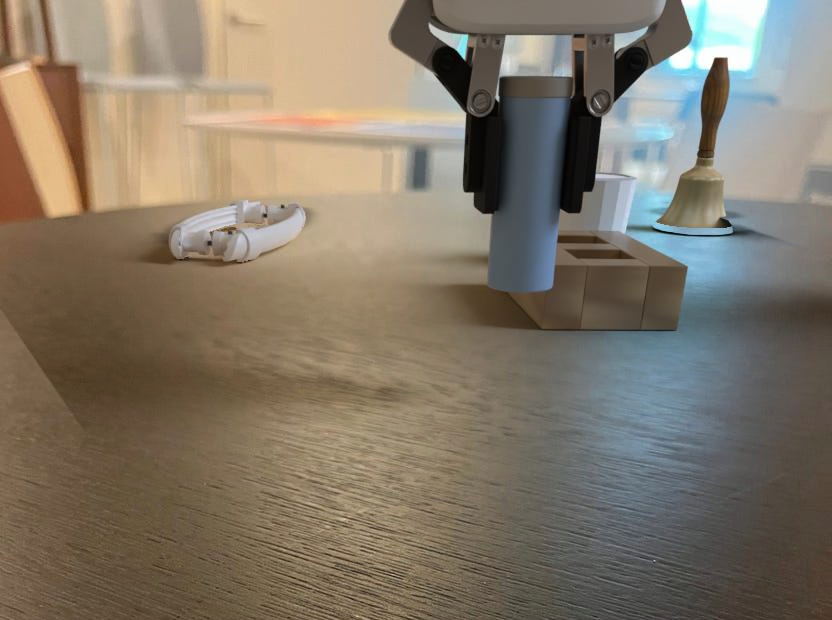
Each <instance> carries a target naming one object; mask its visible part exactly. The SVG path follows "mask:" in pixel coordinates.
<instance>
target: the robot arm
mask: <svg viewBox="0 0 832 620" xmlns="http://www.w3.org/2000/svg"><path fill="white" fill-rule="evenodd" d="M686 10H687V9H686V7H685V4H684V1H683V0H403V1H402V4H401V5H400V8H399V10H398V12H397V14H396V15H395V18H394V20H393V22H392V23H391V25H390V28H389V30H388V33H387V39H388V42H389V44H390V46H391V47H392V48H393V49H395V50H397V51H398V52H400V53H401V54H403V55H404V56H405V57H407V58H409V59H410V60H412V61H413V62H415V63H416V64H418V65H419V66H421V67H422V68H424V69H426V70H427V71H429V72H430V73H432V74H433V75H434V77H435V78H436V79H437V80H438V81H439V83H440V84H441V85H442V86H443V88H444V89H445V90H446V92H448V94H449V95H450V96H451V97H452V99H454V101H455V102H456V103H457V104H458V106H459V107H460V109H461V111H462V112H464V113H465V126H464V127H465V129H464V147H463V148H464V149H463V163H462V164H463V166H462V191H463V192H464V193H466V194H473V207H474V208H475V209H476V210H477V211H478V212H479V213H481V214H482V215H491V214H494V212H495V211H498V210H499V203H500V189H501V174H502V160H503V145H504V130H505V121H504V120H502V119H501V117H498V111H499V100H497V98H496V97H497V92H498V91H497V90H498V86H499V78H500V72H501V67H502V61H503V54H504V50H505V49H504V48H505V43H506V37H507V36H571V77H573V78H574V83H573V94H572V97H571V103H570V113H569V123H568V134H567V144H566V154H565V165H564V175H563V186H562V196H561V206H560V209H561V210H563V211H565V212H567V213H568V214H570V213H580V212H581V209H582V202H583V192H592V190H593V188H594V184H595V177H596V172H597V169H598V158H599V150H600V149H599V148H600V141H601V140H600V138H601V132H602V131H601V130H602V121H603V117H604V116H606V115H607V114H608V113H610V111H611V110H612V108H613V106H614V104H615V103H616V102H617V101H618V100H619V99H620V98H621V97H622V96H623V95H624V94H625V92H626V91H628V90H629V89H630V87H631V86H632V85H634V83H635V82H637V80H639V78H641V76H643V75H644V73H645V72H647V71H649V70H650V69H651V68H653V67H656V66H658V65H659V64H661V63H662V62H664V61H666V60H668V59H669V58H671V57H672V56H674V55H676V54H677V53H679V52H681V51H683V50H684V49H686V48H687V47H688V46H689V45H690V43H691V42H692V39H693V35H694V33H693V28H692V26H691V22H690V20H689V16H688V13H687V11H686ZM430 25H431V26H432V27H434V28H436V29H437V30H440V31H442V32H445V33H448V34H453V35H454V34H455V35H462V36H463V35H465V36H466V35H467V40H466V46H465V47H466V48H465V53H464V57H463V56H462V55H461V54H460V52H458V50H457V49H455V47H452V46H451V45H449V44H448V43H446V42H444V41H443V40H442V39H440V38H439V37H437V36H436V35H435V34H434V33H433V32H432V31H431V29H430ZM645 28H647V29H646V31H645V32H644V33H643V34H642V35H641V36H639V37H638V38H636V40H634V41H632V42H631V43H629V44H627V45H625V46H623V47H620V48H619V49H617V50H616V51H615V43H616V41H615V38H616V37H615V35H617V34H629V33H635V32H637V31H641V30H643V29H645Z"/></svg>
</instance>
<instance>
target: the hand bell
mask: <svg viewBox="0 0 832 620" xmlns="http://www.w3.org/2000/svg"><path fill="white" fill-rule="evenodd" d="M730 80H731V79H730V71H729V58H728V57H727V56H725V57H724V56H723V57H721V56H720V57H714V58H713V61H712V64H711V66H710V68H709V71H708V73H707V75H706V77H705V80H704V83H703V87H702V92H701V98H700V118H701V132H700V137H699V144H698V150H697V153H696V157H697V158H696V162H695V164H694V166H693V167H691V168H690V169H688V170H687V171H685V172H682V174H680V176H679V178H678V182H677V186H676V189H675V192H674V194H673V197H672V199H671V202H670V204H669V206H668V207H667V209H666V210H665V211H664V213H663V214H662V215H661V216H660V217H659V218H658V219H656V220H655V222H657V223H660V224H664V225H669V226H676V227H687V228H727V227H731V226H733V224H732V223H731V222H730V220H729V219H726V218H724V217H726V216H727V214H726V213H727V212H726V209H725V203H724V202H725V201H724V189H725V188H724V186H725V177H724V175H723V174H721V173H720V172H718V171H717V170H716V169H715V168H714V161H715V159H714V157H715V154H716V153H715V149H716V143H717V135H718V131H719V126H720V125H721V124H720V123H721V122H722V119H723V116H724V114H725V111H726V109H727V104H728V102H729V96H730V89H731V81H730Z"/></svg>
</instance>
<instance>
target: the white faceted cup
mask: <svg viewBox="0 0 832 620" xmlns="http://www.w3.org/2000/svg"><path fill="white" fill-rule="evenodd" d="M637 182H638V177H636V176H633V175H628V174H623V173H616V172H615V173H614V172H605V171H604V172H601V171H596V177H595V184H594V188H593V190H592V192H583V202H582V209H581V212H580V213H570V214H568V213H567V212H565V211H563V210H561V209H560V217H559V227H558V230H576V231H620V232H622V233H623V234H625V235H626V230H627V227H628V223H629V218H630V214H631V209H632V205H633V202H634V201H633V200H634V197H635V190H636V189H637Z"/></svg>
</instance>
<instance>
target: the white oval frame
mask: <svg viewBox="0 0 832 620" xmlns="http://www.w3.org/2000/svg"><path fill="white" fill-rule="evenodd" d="M287 204H288V205H287V206H288V207H285V204H283V203H282V204H280V207H278V206H277V205H275V204H269V205H268V207H267V213H266V206H265V205H264V204H261V201H251V202H249V199H240V200H239V199H238V200H233V201H232V202H231V203H230V204H229V205H227V206H223V207H217V208H214V209H211V210H206V211H203V212H202V211H201V212H200V213H197V214H194V215H192V216H189V217H187V218H185V219H184V220H182V221H180V223H176V224H174V225H173V226H172V227H171V229H170V230H169V235H168V247H169V250H170V252H171V255H173V256H174V258H176V259H177V260H179V259H181V258H184V257H185V256H187V255H190V253H197V254H198V255H200V256H209V255H210V254H211V249H212V253H213V255H214V256H215V257H220V256H223V258H222V261H223V262H231V261H235V260H236V263H237V262H242V263H245V262H244V261H246V262H249V261H248V260H251V261H253V260H252V259H254V260H256V259H257V258H258V257H260V255H261V254H263V253H266V252H269V251H272V250H275V249H277V248H280V247H282V246H285V245H287V244H288V243H290V242H292V241H293V240H294V239H296V238H297V237H298V236H299V235H300V233H301V231H302V230H303V228H304V227H305V225H306V220H307V218H306V213H305V209H303V207H302V206H301V205H300V204H299V203H298V202H297V201H291V202H288V203H287ZM266 219H267V226H262V227H260V228H255V227H253V226H249V227H240V228H238V229H235V233H234V232H233V230H232V229H227V233H225V231H222V230H219V231H214V232H212V236H211V233H209V232H210V231H213V230H216V229H219V228H222V227H224V226H229V225H233V224H237V223H239V224H244V223H251V224H254V225H256V224H263V223H265V224H266ZM269 225H270V226H269ZM302 227H303V228H302Z"/></svg>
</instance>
